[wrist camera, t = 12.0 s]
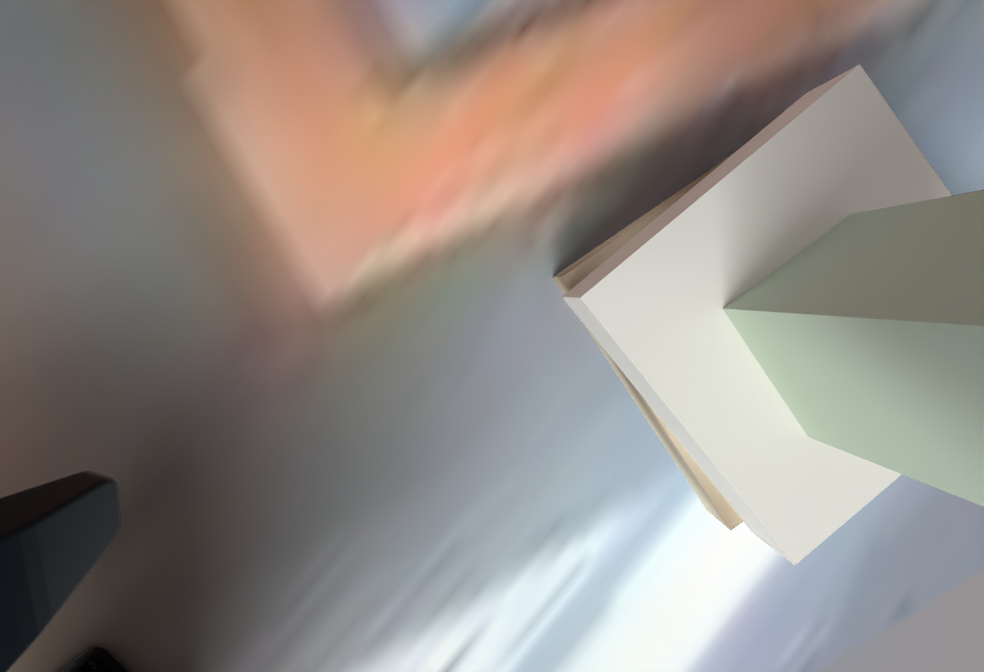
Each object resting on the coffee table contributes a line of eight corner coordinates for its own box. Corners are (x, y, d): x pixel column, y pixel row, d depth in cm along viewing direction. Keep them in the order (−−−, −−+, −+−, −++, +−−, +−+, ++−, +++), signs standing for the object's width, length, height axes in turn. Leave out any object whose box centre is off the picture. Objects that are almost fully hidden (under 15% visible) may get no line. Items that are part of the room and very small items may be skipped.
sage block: (808, 436, 18) (1186, 587, 9) (722, 308, 17) (1031, 329, 8) (933, 344, 18) (1432, 399, 9) (852, 213, 17) (1293, 133, 8)
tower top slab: (751, 531, 20) (794, 565, 18) (561, 296, 19) (580, 297, 17) (981, 336, 21) (1055, 343, 18) (806, 92, 20) (859, 63, 17)
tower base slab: (699, 504, 23) (730, 530, 20) (549, 277, 22) (563, 276, 19) (918, 349, 23) (975, 356, 21) (781, 118, 22) (824, 96, 20)
